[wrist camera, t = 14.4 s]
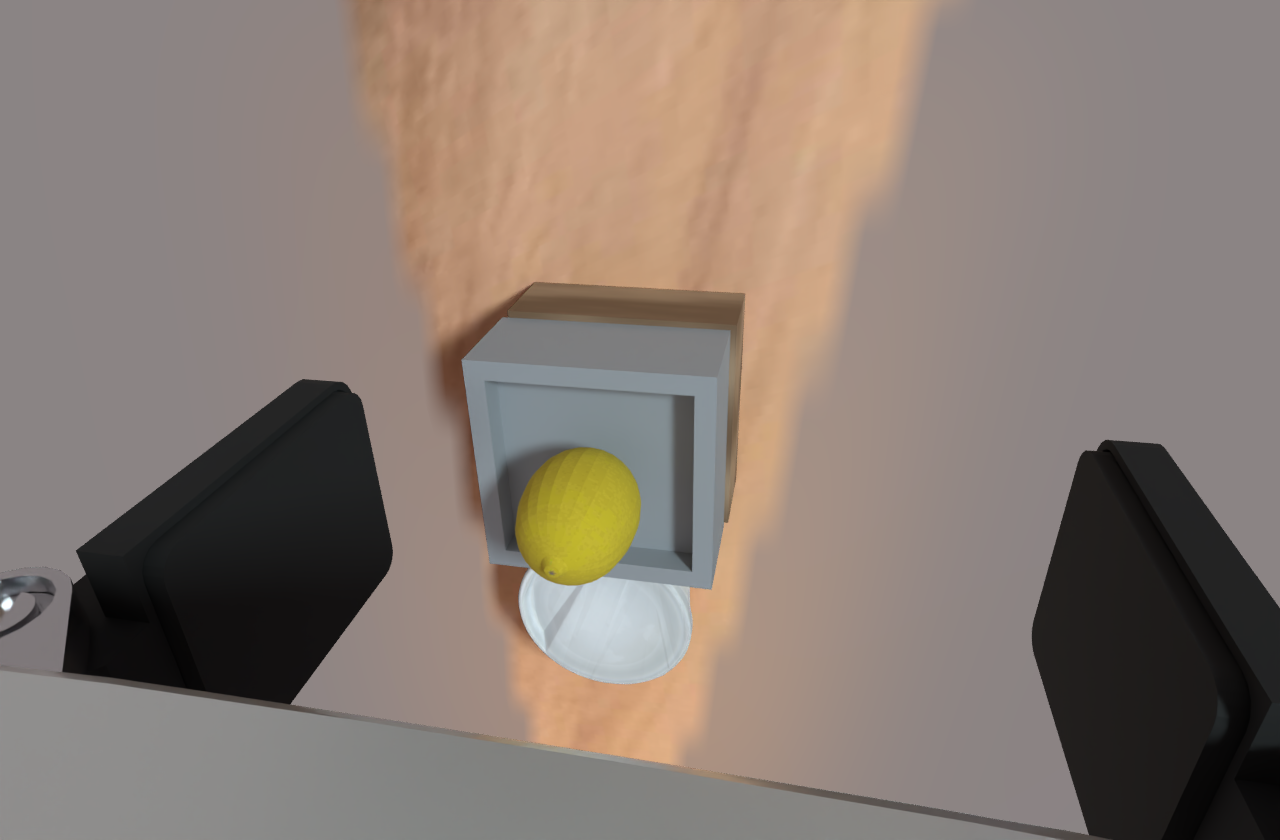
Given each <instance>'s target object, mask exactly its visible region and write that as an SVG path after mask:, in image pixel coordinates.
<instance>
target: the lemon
mask: <svg viewBox="0 0 1280 840" xmlns="http://www.w3.org/2000/svg"><path fill="white" fill-rule="evenodd" d="M640 512H641V497H640V493H639V489H638V485H637V482H636V480H635V478H634V476H633V475H632V473H631V471H630V470H629V469H628V467H627V466H626V465H625V464H624V463H623V462H622V461H621V460H620V459H618V458H617V457H615V456H614V455H613V454H610V453H608V452H606V451H604V450H601V449H596V448H591V447H578V448H573V449H569V450H565V451H563V452H561V453H559V454H557V455H555V456H553V457H551V458H550V459H548V460H547V461H546V462H545V463H544V464H543V465H542V466H541V467H540V468H539V469H538V470H537V471H536V472H535V473H534V474H533V476H532V477H531V479H530V480H529V482H528V484H527V486H526V488H525V490H524V492H523V494H522V497H521V499H520V502H519V506H518V510H517V517H516V526H515V535H516V539H517V544H518V548H519V550H520V552H521V554H522V556H523V558H524V560H525V562H526V563H527V564H528V565H529V566H530V568H531V569H532V570H533V571H535V572H536V573H537V574H538V575H539V576H541V577H543V578H544V579H546V580H548V581H550V582H553V583H556V584H561V585H567V586H576V585H583V584H587V583H591V582H593V581H596V580H597V579H599V578H601V577H603V576H605V575H606V574H607V573H609V572H610V571H611V570H612V569H613V568H614V567H615V566H616V564H617V563H618V562H619V561H620V560H621V559H622V558H623V556H624V555H625V554H626V552H627V551H628V549H629V547H630V546H631V543H632V541H633V539H634V536H635V534H636V532H637V529H638V526H639V521H640Z"/></svg>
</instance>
